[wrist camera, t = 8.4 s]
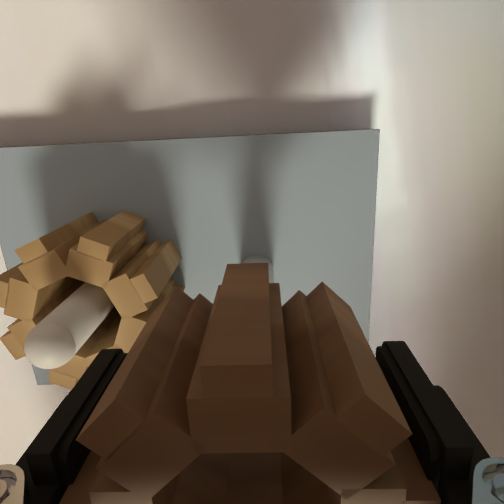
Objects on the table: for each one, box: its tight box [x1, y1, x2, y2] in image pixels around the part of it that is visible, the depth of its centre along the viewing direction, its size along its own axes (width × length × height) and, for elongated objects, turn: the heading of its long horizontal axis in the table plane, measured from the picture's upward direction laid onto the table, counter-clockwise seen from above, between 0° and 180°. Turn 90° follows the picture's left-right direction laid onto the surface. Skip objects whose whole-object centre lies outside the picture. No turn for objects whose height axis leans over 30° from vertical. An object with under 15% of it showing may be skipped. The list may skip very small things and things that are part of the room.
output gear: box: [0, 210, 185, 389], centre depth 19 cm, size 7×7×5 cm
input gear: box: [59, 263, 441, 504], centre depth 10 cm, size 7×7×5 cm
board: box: [0, 129, 380, 385], centre depth 18 cm, size 20×14×9 cm
